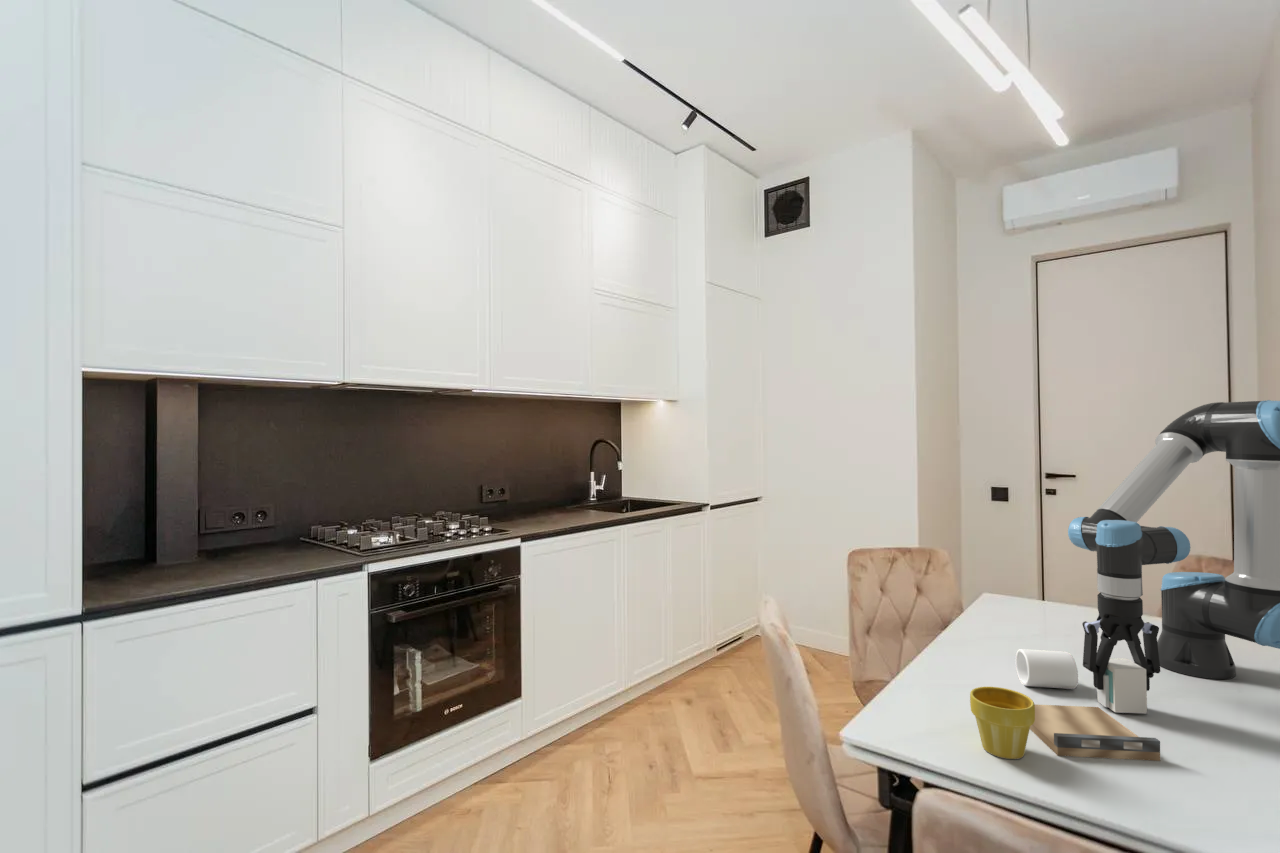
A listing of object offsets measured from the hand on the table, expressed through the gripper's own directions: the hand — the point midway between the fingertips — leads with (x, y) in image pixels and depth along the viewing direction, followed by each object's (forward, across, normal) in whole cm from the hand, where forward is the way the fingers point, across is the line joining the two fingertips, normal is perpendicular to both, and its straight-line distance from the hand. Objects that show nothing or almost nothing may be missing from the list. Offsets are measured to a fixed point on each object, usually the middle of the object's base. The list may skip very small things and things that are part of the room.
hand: (1121, 704), depth 131 cm
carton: (0, 0, 0) cm, 0 cm away
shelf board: (+1, +15, +12) cm, 19 cm away
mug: (+1, +9, -13) cm, 16 cm away
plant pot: (+1, +32, +20) cm, 38 cm away
